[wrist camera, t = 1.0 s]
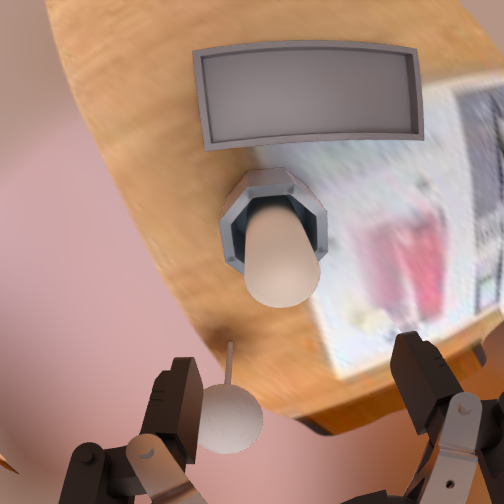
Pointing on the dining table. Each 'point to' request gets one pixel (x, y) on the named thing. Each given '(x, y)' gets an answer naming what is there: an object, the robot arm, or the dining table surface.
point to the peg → (278, 254)
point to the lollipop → (229, 415)
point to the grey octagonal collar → (270, 185)
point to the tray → (307, 93)
